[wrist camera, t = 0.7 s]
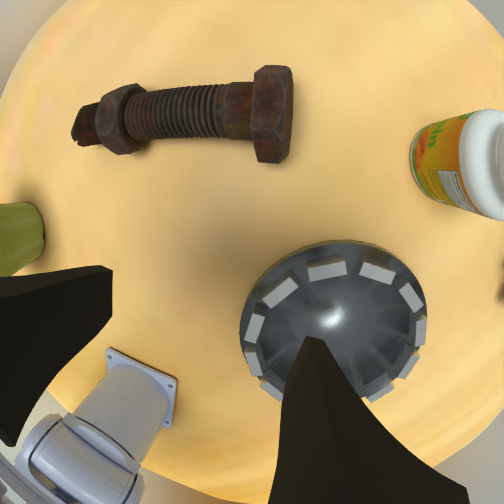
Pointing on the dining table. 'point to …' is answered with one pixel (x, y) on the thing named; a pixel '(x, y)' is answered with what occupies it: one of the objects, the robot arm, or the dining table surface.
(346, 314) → the carrier
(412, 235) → the dining table surface
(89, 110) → the bolt
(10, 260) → the plant pot
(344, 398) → the robot arm
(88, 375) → the dining table surface
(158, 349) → the dining table surface
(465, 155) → the supplement bottle
